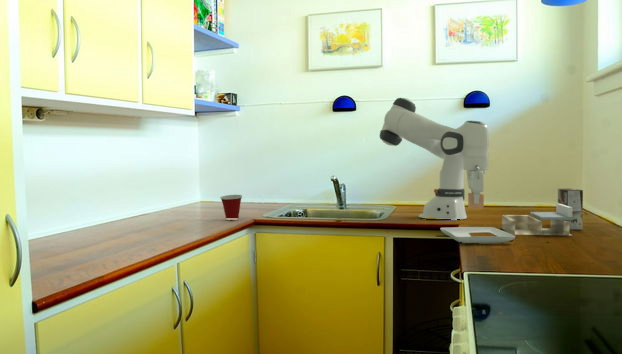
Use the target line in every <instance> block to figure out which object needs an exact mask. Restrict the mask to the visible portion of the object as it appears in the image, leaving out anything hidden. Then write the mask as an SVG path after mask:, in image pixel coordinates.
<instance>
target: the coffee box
mask: <svg viewBox="0 0 622 354" xmlns="http://www.w3.org/2000/svg"><path fill="white" fill-rule="evenodd" d="M583 198H584V190H583V189H577V188H557V204H563V205H566V206H569V207H572V217H573V220H569V221H570V225H569V230H583V219H584V218H583V215H584V213H583V211H584V205H583V204H584V199H583Z"/></svg>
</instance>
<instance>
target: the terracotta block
mask: <svg viewBox="0 0 622 354" xmlns="http://www.w3.org/2000/svg"><path fill="white" fill-rule="evenodd" d="M484 196H485V195H484V193H483V192H480V197H479V203H478V204H475V203H474V194H473V193H471V192H469V193H467V207H468V208H469V209H484V208H485V207H484V206H485V205H484V204H485V201H484V198H485V197H484Z"/></svg>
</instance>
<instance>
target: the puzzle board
mask: <svg viewBox="0 0 622 354" xmlns="http://www.w3.org/2000/svg"><path fill="white" fill-rule="evenodd" d="M569 225H570V221H569V220H550V228H543V220H541V219H539V218H536V217H534V216H532V215H530V214H529V215H527V214H524V215H522V214H520V215H519V214H502V215H501V229H502V230H503V231H505V232H507V233H509V234H511V235H514V236H516V235H522V236H523V235H524V236H525V235H526V236H529V235H530V236H572V234H570V229H569Z"/></svg>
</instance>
